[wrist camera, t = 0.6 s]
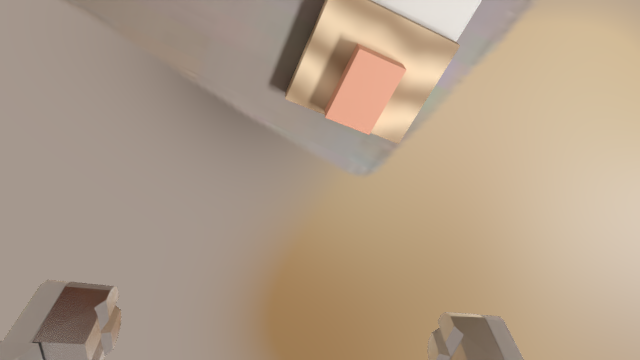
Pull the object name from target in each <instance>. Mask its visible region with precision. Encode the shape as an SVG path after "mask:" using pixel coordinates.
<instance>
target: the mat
mask: <svg viewBox="0 0 640 360" xmlns="http://www.w3.org/2000/svg"><path fill="white" fill-rule="evenodd" d="M372 1H374V2H376V3H378V4H380V5H382V6H384V7H386V8H388V9H390V10H392V11H394V12H396V13H398V14H400V15H402V16H404V17H406V18H408V19H410V20H412V21H414V22H416V23H418V24H421V25H423V26H425V27H427V28H429V29H431V30H433V31H435V32H437V33H439V34H441V35H443V36H445V37H447V38H449V39H451V40H453V41H455V42H456V41H457V39H458V38H459V36H460V35H461V33H462V31H463V30H464V28H465V27H466V25H467V23H468V22H469V20H470V18H471V17H472V15H473V14H474V12H475V10H476V9H477V7H478V6H479V4H480V2H481V1H482V0H372Z"/></svg>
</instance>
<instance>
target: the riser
mask: <svg viewBox="0 0 640 360" xmlns="http://www.w3.org/2000/svg"><path fill="white" fill-rule="evenodd" d="M357 43H358V44H360V45H362V46H364V47H367V48H369V49H371V50H373V51H375V52H378V53H380V54H382V55H384V56H386V57H389V58H391V59H393V60H395V61H397V62H400V63H402V64H403V65H404V67H405V68H406V72H405V74H404V75H403V77H402V79H401V81H400V82H399V84H398V86H397V87H396V89H395V91H394V93H393V94H392V96H391V98H390V100H389V101H388V103H387V105H386V107H385V108H384V110H383V112H382V113H381V115H380V117H379V119H378V120H377V122H376V124H375V126H374V127H373V129H372V131H371V133H372V134H375V135H377V136H380V137H382V138H385V139H388V140H390V141H393V142H395V143H398V144H399V142H400V141H401V139H402V138H403V136H404V134H405V133H406V131H407V130H408V128H409V126H410V125H411V123H412V122H413V120H414V118H415V117H416V115H417V114H418V112H419V110H420V109H421V107H422V106H423V104H424V103H425V101H426V99H427V98H428V96H429V95H430V93H431V91H432V90H433V88H434V87H435V85H436V83H437V82H438V80H439V79H440V77H441V75H442V74H443V72H444V71H445V69H446V67H447V66H448V64H449V63H450V61H451V59H452V58H453V56H454V55H455V53H456V51H457V50H458V48H459V47H460V45H459V44H458V43H457V42H455V41H453V40H451V39H449V38H447V37H445V36H443V35H441V34H439V33H437V32H435V31H433V30H431V29H429V28H427V27H425V26H423V25H421V24H418V23H416V22H414V21H412V20H410V19H408V18H406V17H404V16H402V15H400V14H398V13H396V12H394V11H392V10H390V9H388V8H386V7H384V6H382V5H380V4H378V3H376V2H374V1H372V0H325V2H324V4H323V7H322V9H321V11H320V14H319V16H318V18H317V21H316V23H315V25H314V28H313V30H312V32H311V35H310V37H309V39H308V42H307V44H306V46H305V49H304V51H303V53H302V56H301V58H300V60H299V63H298V65H297V67H296V70H295V72H294V74H293V77H292V79H291V81H290V84H289V86H288V88H287V91H286V95H285V99H286V100H289V101H291V102H294V103H296V104H299V105H301V106H304V107H306V108H309V109H312V110H314V111H317V112H319V113H322V114H324V115H325V111H324V110H325V108H326V106H327V104H328V102H329V100H330V98H331V96H332V94H333V92H334V90H335V88H336V86H337V84H338V82H339V80H340V78H341V76H342V74H343V72H344V70H345V68H346V66H347V64H348V62H349V60H350V58H351V56H352V53H353V51H354V49H355V47H356V45H357Z"/></svg>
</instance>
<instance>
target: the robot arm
mask: <svg viewBox="0 0 640 360" xmlns="http://www.w3.org/2000/svg"><path fill="white" fill-rule="evenodd" d="M118 298H119V293H118V288H117V287H114V286H106V285H96V284H87V283H77V282H66V281H56V280H46V281H45V282H44V283H42V284H41V285H40V286H39V288H38V289H37V291H36V292H35V294H34V295H33V297H32V298H31V300H30V301H29V303H28V304H27V306H26V307H25V309H24V310H23V312H22V313H21V315H20V316H19V317H18V319H17V321H16V322H15V324H14V325H13V326H12V328H11V330H10V331H9V333H8V334H7V335H6V337H5V338H4V340H3V341H0V360H105V357H104V356H106V355H107V354H108V353H109V352H111V351H112V350H113V349H114V346H115V343H116V341H117V338H118V334H119V330H120V325H121V310H120V309H119V308H118V307H117V306H116V303H117V300H118ZM438 323H439V326H440V328H438V329H437V330H435V331H434V332H432V334H431V336H430V339H429V341H428V358H429V360H524V359H523V357H522V355H521V353H520V351H519V349H518V348H517V345H516V344H515V341H514V340H513V338H512V336H511V334H510V332H509V330H508V328H507V326H506V324H505V322H504V320H503V319H502V318H501V317H499V316H488V315H478V314H463V313H449V312H445V313H443V314H442V315H441V316H440V318H439V320H438Z"/></svg>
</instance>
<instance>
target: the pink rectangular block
mask: <svg viewBox="0 0 640 360" xmlns="http://www.w3.org/2000/svg"><path fill="white" fill-rule="evenodd" d="M405 72H406V68H405V67H404V65H403V64H402V63H400V62H397V61H395V60H393V59H391V58H389V57H386V56H384V55H382V54H380V53H378V52H375V51H373V50H371V49H369V48H367V47H364V46H362V45H360V44H358V43H357V45H356V47H355V49H354V51H353V53H352V56H351V58H350V60H349V62H348V64H347V66H346V68H345V70H344V72H343V74H342V76H341V78H340V80H339V82H338V84H337V86H336V88H335V90H334V92H333V94H332V96H331V98H330V100H329V102H328V104H327V106H326V108H325V110H324V111H325V118H328V119H330V120H333V121H335V122H338V123H340V124H343V125H345V126H348V127H350V128H353V129H356V130H358V131H361V132H363V133H366V134H368V135H369V134H370V133H371V131H372V129H373V127H374V126H375V124H376V122H377V120H378V119H379V117H380V115H381V113H382V112H383V110H384V108H385V107H386V105H387V103H388V101H389V100H390V98H391V96H392V94H393V93H394V91H395V89H396V87H397V86H398V84H399V82H400V81H401V79H402V77H403V75H404V74H405Z"/></svg>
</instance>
